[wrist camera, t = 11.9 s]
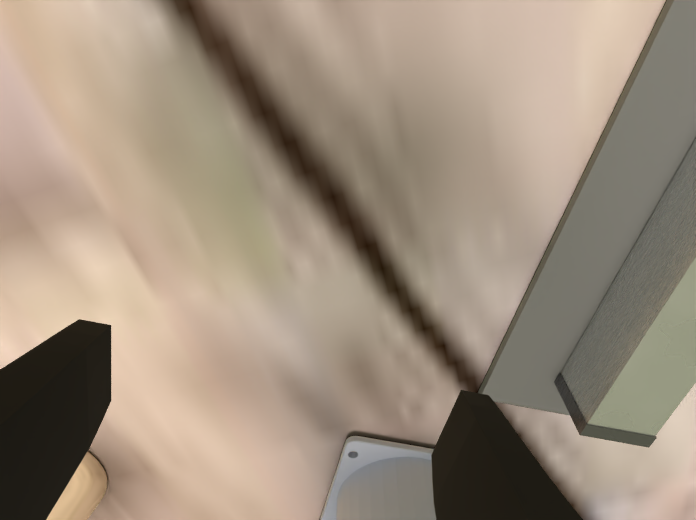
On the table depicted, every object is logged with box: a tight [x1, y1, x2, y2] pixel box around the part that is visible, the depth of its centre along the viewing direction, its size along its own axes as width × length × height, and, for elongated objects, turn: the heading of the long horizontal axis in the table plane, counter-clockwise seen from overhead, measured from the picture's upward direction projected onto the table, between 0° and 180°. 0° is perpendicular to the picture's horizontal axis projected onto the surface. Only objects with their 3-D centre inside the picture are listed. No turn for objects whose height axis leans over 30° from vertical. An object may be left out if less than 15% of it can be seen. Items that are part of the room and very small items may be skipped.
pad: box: [478, 0, 696, 415], centre depth 19 cm, size 22×9×1 cm, turn 167°
